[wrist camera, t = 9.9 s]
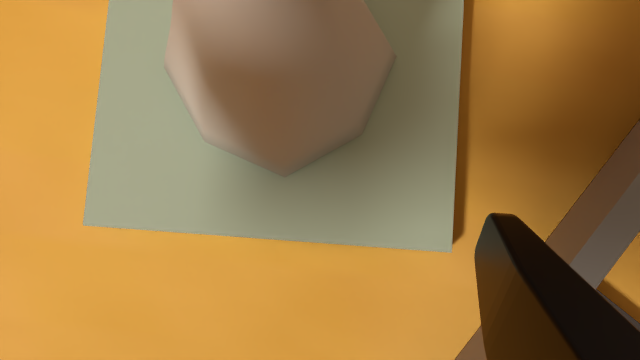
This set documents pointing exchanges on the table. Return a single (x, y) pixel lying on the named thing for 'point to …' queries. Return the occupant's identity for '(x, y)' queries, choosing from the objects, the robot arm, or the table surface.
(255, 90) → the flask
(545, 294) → the robot arm
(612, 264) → the trough
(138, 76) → the pad
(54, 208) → the table surface
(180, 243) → the table surface
